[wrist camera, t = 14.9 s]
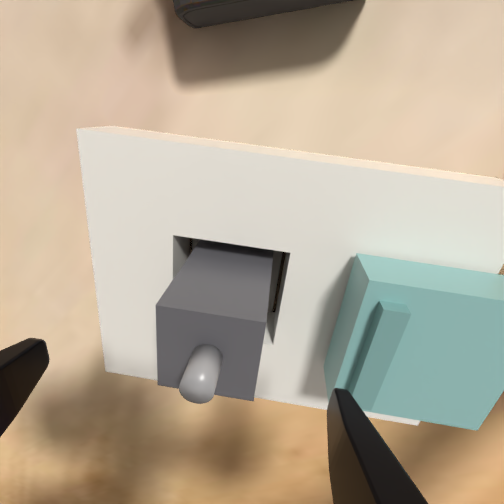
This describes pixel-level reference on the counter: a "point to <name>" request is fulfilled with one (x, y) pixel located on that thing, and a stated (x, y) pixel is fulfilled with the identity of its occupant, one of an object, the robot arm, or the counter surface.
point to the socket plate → (266, 236)
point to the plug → (214, 322)
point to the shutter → (419, 341)
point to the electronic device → (238, 9)
